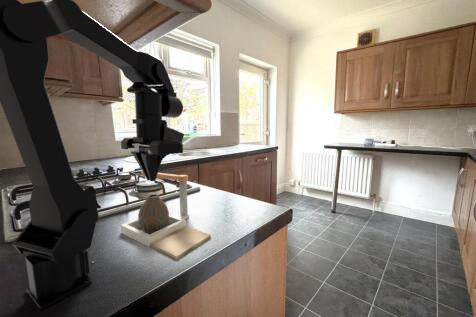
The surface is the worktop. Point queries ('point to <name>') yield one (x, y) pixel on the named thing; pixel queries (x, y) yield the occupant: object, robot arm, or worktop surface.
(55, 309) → the worktop surface
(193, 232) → the mat
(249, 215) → the worktop surface
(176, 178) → the orange flat bar
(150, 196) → the vase
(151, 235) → the socket
